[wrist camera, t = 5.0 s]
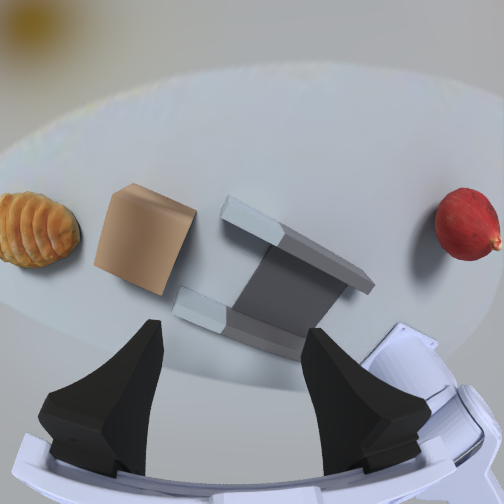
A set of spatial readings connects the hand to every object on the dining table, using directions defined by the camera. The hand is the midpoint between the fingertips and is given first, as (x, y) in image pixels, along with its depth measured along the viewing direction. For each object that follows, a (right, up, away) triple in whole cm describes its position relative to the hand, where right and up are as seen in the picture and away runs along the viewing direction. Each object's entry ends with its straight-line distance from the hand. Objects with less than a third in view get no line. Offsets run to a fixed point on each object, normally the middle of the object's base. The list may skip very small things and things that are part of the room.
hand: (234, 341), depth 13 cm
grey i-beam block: (+3, +2, +9) cm, 9 cm away
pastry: (-18, +7, +5) cm, 20 cm away
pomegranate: (+18, +8, +8) cm, 21 cm away
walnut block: (-6, +6, +6) cm, 11 cm away
